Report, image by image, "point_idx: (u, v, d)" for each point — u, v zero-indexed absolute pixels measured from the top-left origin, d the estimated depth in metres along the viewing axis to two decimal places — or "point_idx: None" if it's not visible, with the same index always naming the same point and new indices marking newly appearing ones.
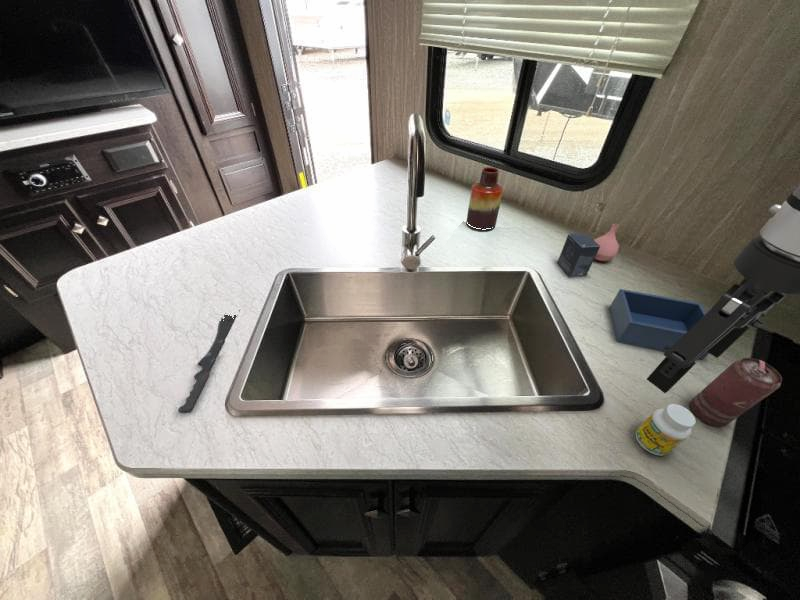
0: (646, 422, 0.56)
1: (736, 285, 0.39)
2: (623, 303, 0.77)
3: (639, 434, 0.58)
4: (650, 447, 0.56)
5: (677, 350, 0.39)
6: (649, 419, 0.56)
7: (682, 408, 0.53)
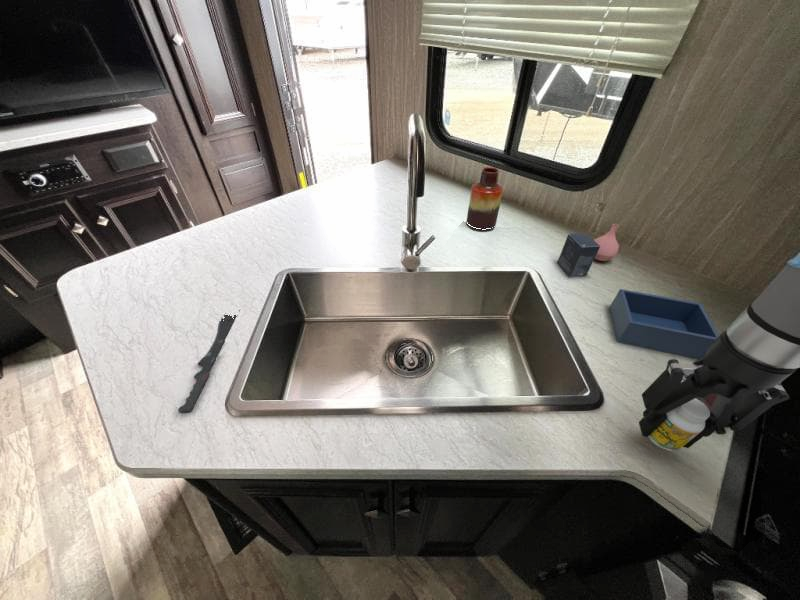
0: None
1: None
2: (623, 303, 0.77)
3: None
4: (661, 442, 0.53)
5: (646, 394, 0.52)
6: None
7: (695, 400, 0.50)
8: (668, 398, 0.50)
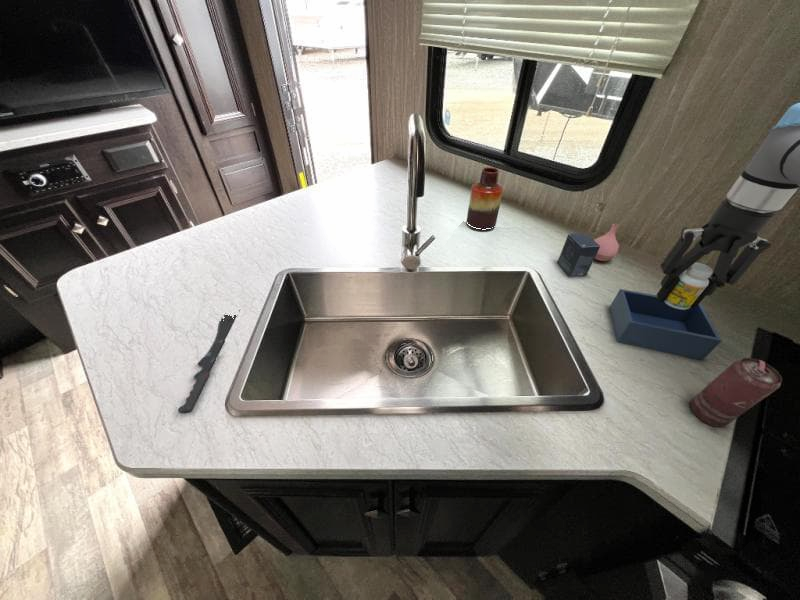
0: None
1: None
2: (623, 303, 0.77)
3: None
4: (675, 302, 0.69)
5: (664, 263, 0.68)
6: None
7: (702, 264, 0.66)
8: (681, 262, 0.66)
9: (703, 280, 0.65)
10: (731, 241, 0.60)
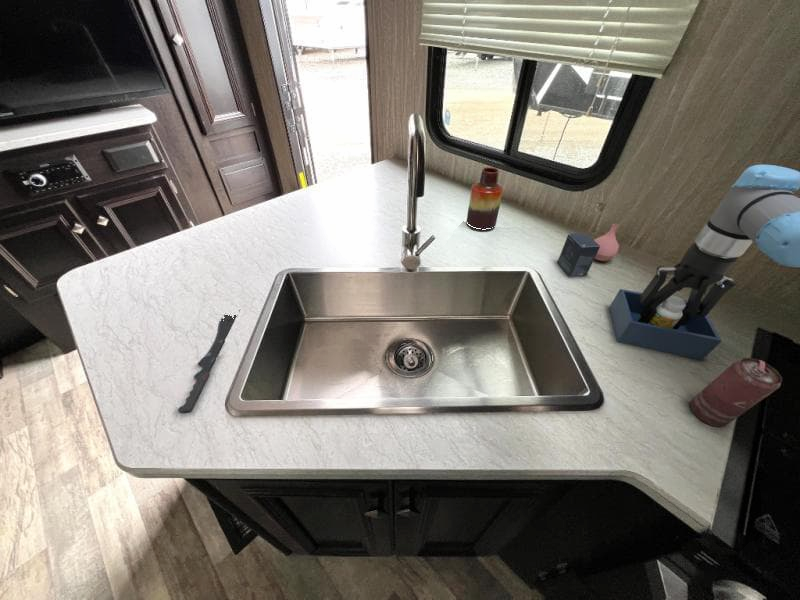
0: None
1: None
2: (623, 303, 0.77)
3: None
4: None
5: (642, 296, 0.74)
6: None
7: (676, 298, 0.73)
8: (657, 296, 0.72)
9: (677, 313, 0.72)
10: (700, 280, 0.66)
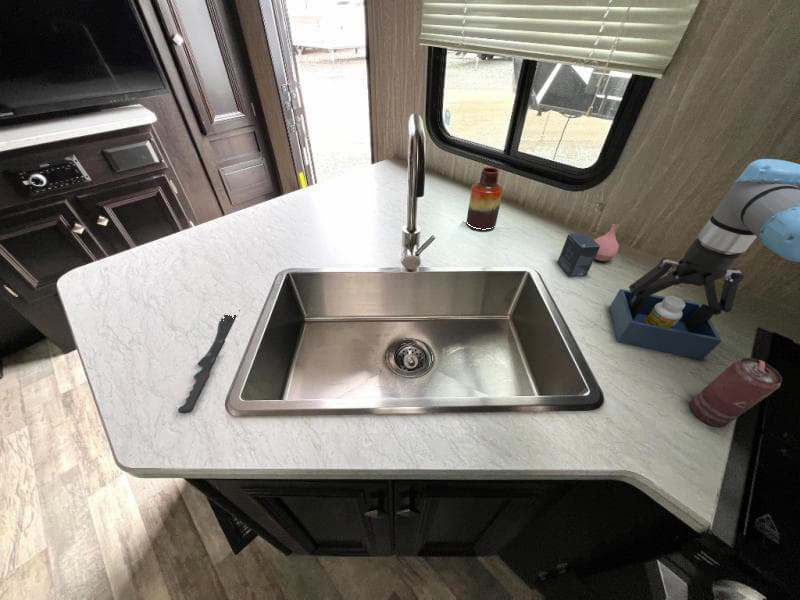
0: (650, 313, 0.76)
1: None
2: (623, 303, 0.77)
3: None
4: None
5: (634, 284, 0.73)
6: (652, 310, 0.75)
7: (676, 298, 0.73)
8: (651, 286, 0.71)
9: (677, 313, 0.72)
10: (703, 277, 0.66)
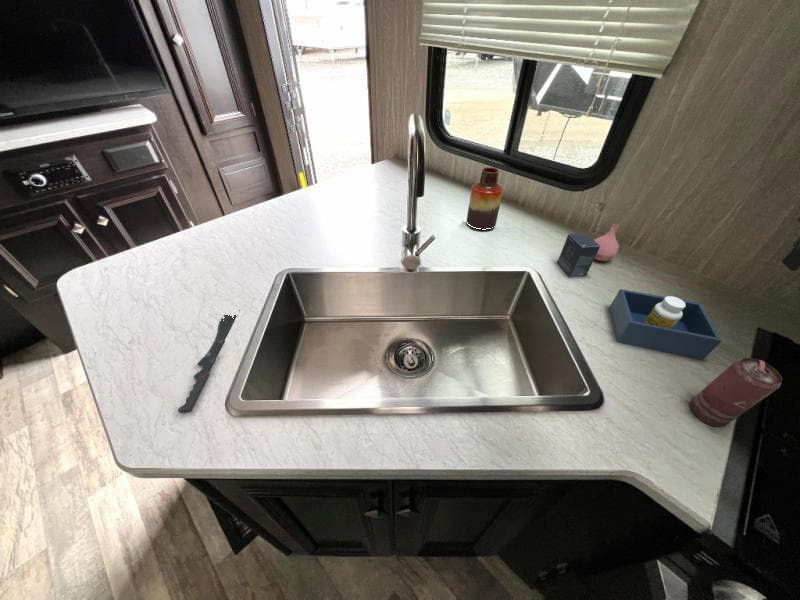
0: (650, 314, 0.76)
1: None
2: (623, 303, 0.77)
3: None
4: None
5: None
6: (652, 310, 0.75)
7: (676, 298, 0.72)
8: None
9: (677, 313, 0.72)
10: None
